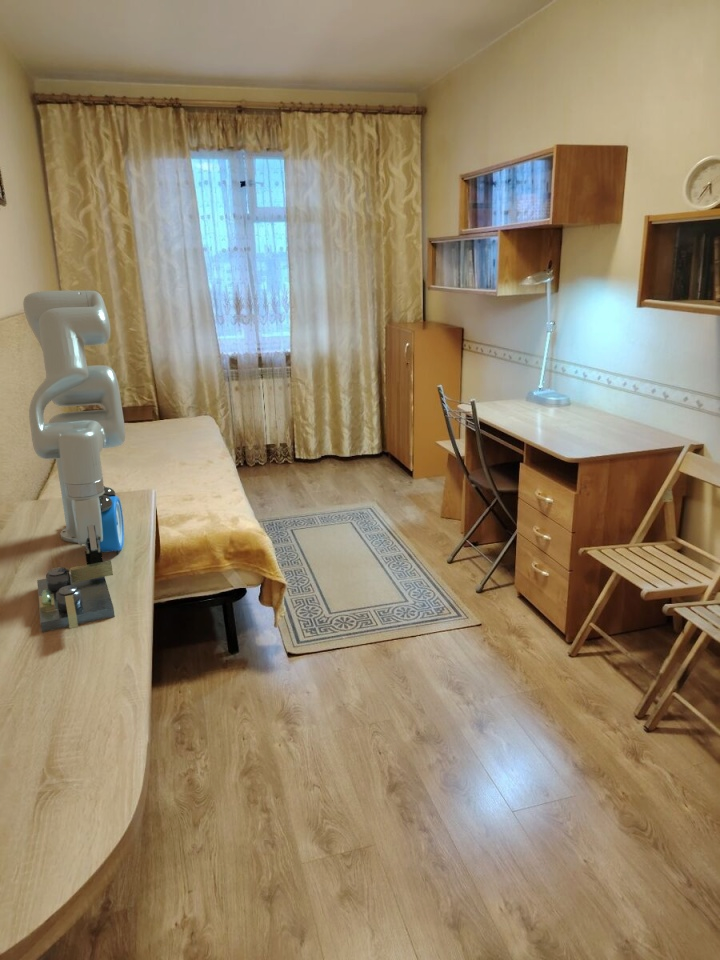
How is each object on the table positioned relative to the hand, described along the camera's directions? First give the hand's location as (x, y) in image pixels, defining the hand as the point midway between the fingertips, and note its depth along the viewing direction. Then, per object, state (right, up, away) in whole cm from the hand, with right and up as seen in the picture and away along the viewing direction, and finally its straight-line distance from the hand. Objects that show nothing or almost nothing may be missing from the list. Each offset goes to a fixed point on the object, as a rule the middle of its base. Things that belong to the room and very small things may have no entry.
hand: (95, 568), depth 145 cm
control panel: (-1, -6, -8) cm, 10 cm away
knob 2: (+3, -7, -18) cm, 19 cm away
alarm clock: (-3, +2, +17) cm, 18 cm away
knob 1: (-1, -2, -5) cm, 5 cm away
